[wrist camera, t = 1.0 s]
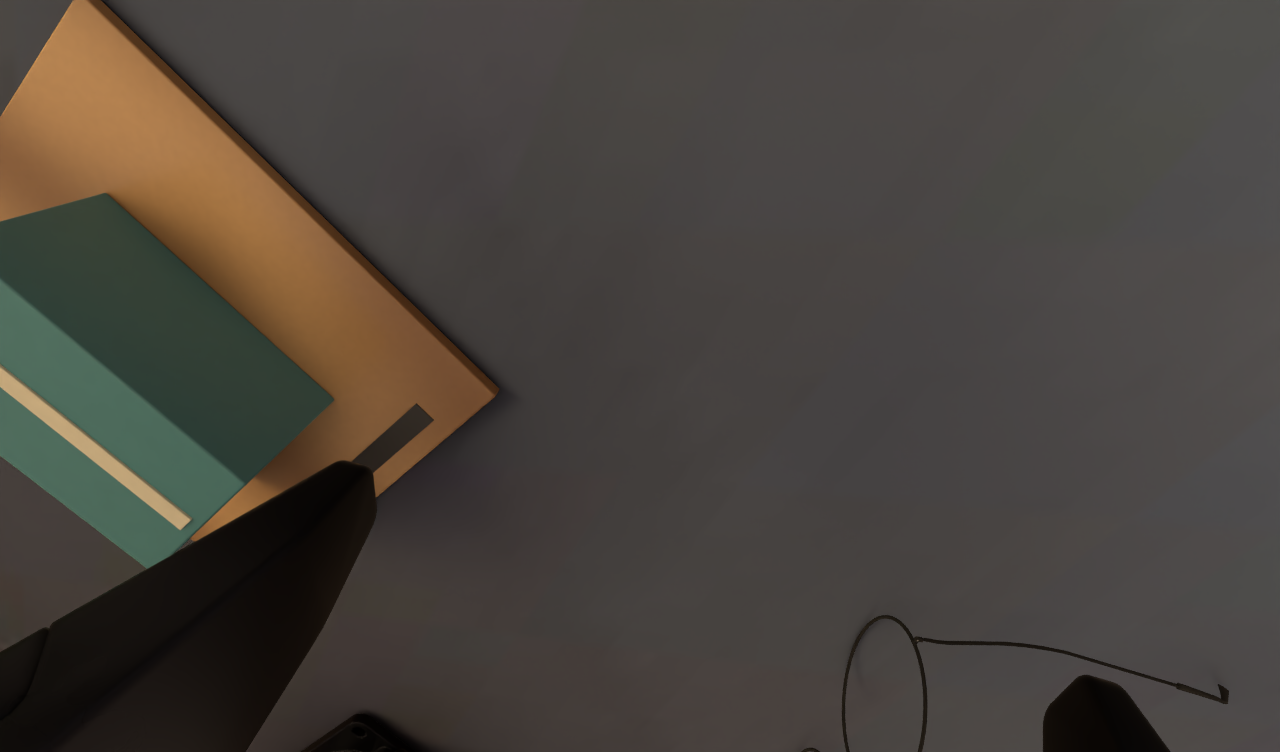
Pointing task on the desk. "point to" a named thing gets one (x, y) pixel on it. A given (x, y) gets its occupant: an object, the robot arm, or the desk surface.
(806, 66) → the desk surface
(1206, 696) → the eyeglasses
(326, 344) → the wooden cutting board
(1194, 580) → the desk surface
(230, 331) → the green parcel
